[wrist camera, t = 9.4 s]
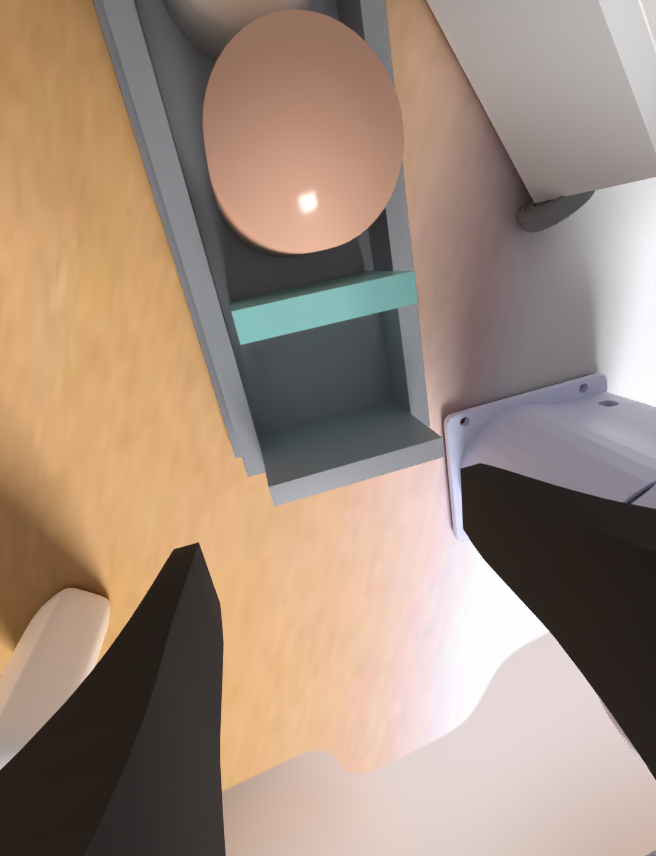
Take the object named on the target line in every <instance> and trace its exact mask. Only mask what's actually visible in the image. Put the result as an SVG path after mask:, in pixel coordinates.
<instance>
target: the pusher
mask: <svg viewBox="0 0 656 856" xmlns="http://www.w3.org/2000/svg"><path fill="white" fill-rule="evenodd" d="M417 303H418V301H417V291H416V282H415V272H414V271H365V272H361V273H356V274H352V275H347V276H343V277H338V278H333V279H329V280H324V281H320V282H315V283H311V284H306V285H302V286H297V287H292V288H288V289H283V290H279V291H274V292H270V293H265V294H261V295H256V296H251V297H247V298H242V299H238V300H233V301H230V307H231V312H232V316H233V320H234V323H235V327H236V331H237V334H238V338H239V341H240V345H242V344H247V343H251V342H255V341H259V340H264V339H268V338H272V337H276V336H281V335H285V334H289V333H293V332H298V331H302V330H306V329H310V328H315V327H319V326H323V325H327V324H332V323H336V322H340V321H345V320H349V319H353V318H357V317H362V316H366V315H370V314H374V313H379V312H383V311H387V310H391V309H396V308H400V307H404V306H408V305H413V304H417Z"/></svg>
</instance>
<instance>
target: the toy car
mask: <svg viewBox="0 0 656 856" xmlns="http://www.w3.org/2000/svg"><path fill="white" fill-rule="evenodd" d="M426 1H427V3H428V4H429V6H430V8H431V10H432V12H433V14H434V16H435V18H436V19H437V21H438V23H439V25H440V27H441V29H442V31H443V33H444V34H445V36H446V38H447V40H448V42H449V44H450V46H451V48H452V49H453V51H454V53H455V55H456V57H457V59H458V61H459V63H460V64H461V66H462V68H463V70H464V72H465V74H466V76H467V78H468V79H469V81H470V83H471V85H472V87H473V89H474V91H475V93H476V94H477V96H478V98H479V100H480V102H481V104H482V106H483V108H484V109H485V111H486V113H487V115H488V117H489V119H490V121H491V123H492V124H493V126H494V128H495V130H496V132H497V134H498V136H499V138H500V139H501V141H502V143H503V145H504V147H505V149H506V151H507V153H508V154H509V156H510V158H511V160H512V162H513V164H514V166H515V168H516V169H517V171H518V173H519V175H520V177H521V179H522V181H523V183H524V184H525V186H526V188H527V190H528V192H529V194H530V196H531V198H532V200H531V201H529V202H528V203H526V204H525V205H524V206H523V207H522V208H521V209H520V210H519V211H518V214H517V217H518V219H519V221H520V223H521V225H522V226H523V228H524V230H525V231H527V232H537V231H541V230H544V229H546V228H549V227H551V226H553V225H555V224H557V223H559V222H560V221H562V220H564V219H565V218H567V217H568V216H570V215H571V214H573V213H574V212H575V211H577V210H578V209H579V208H580V207H581V206H583V205H584V204H585V203H586V202H587V201H588V200H589V199H590V197H591V196H592V195H593V193H594V192H595V190H597V189H602V188H607V187H611V186H616V185H620V184H625V183H629V182H634V181H638V180H643V179H648V178H652V177H656V0H426Z"/></svg>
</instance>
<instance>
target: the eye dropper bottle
mask: <svg viewBox="0 0 656 856" xmlns="http://www.w3.org/2000/svg"><path fill="white" fill-rule="evenodd" d="M109 619H110V603H109V601H108V599H107V598H105V597H103V596H100V595H97V594H94V593H91V592H87V591H84V590H81V589H77V588H67V589H64V590H62V591H60V592H59V593H57V594H56V595H55V596H53V597H52V598H51V599H50V600H48V601H47V602H46V603H45V604H44V605H43V606H42V607H41V608H40V609H39V611H38V612H37V613H36V614H35V616H34V617H33V618H32V620H31V621H30V623H29V625H28V626H27V628H26V630H25V632H24V633H23V635H22V637H21V639H20V641H19V642H18V644H17V646H16V648H15V650H14V651H13V653H12V655H11V657H10V659H9V660H8V662H7V664H6V666H5V668H4V669H3V671H2V673H1V675H0V770H1V769H2V768H3V767H4V766H5V765H6V764H7V763H8V762H9V761H10V760H11V759H12V758H13V757H14V756H15V755H16V754H17V753H18V752H19V751H20V750H21V749H22V748H23V747H24V746H25V745H26V744H27V743H28V741H29V740H30V739H31V738H32V737H33V736H34V735H35V734H36V733H37V732H38V731H39V730H40V729H41V728H42V727H43V725H44V724H45V723H46V722H47V721H48V720H49V719H50V718H51V717H52V716H53V715H54V714H55V713H56V712H57V711H58V709H59V708H60V707H61V706H62V705H63V704H64V703H65V702H66V701H67V700H68V698H69V697H70V696H71V695H72V694H73V693H74V691H75V690H76V689H77V688H78V687H79V686H80V684H81V683H82V682H83V681H84V680H85V678H86V677H87V676H88V675H89V674H90V672H91V671H92V670H93V669H94V667H95V665H96V662H97V659H98V656H99V653H100V650H101V647H102V644H103V641H104V638H105V634H106V631H107V628H108V624H109Z"/></svg>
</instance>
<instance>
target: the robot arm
mask: <svg viewBox="0 0 656 856" xmlns="http://www.w3.org/2000/svg"><path fill="white" fill-rule="evenodd" d="M581 385H582V388H581V389H580V386H581ZM579 389H580V390H579ZM606 391H607V378H606V376H605V375H603V374H599V373H595V374H591V375H588V376H584V377H581V378H577V379H573V380H570V381H566V382H563V383H559V384H555V385H552V386H548V387H545V388H541V389H537V390H534V391H530V392H527V393H523V394H519V395H516V396H512V397H509V398H505V399H501V400H498V401H494V402H491V403H487V404H483V405H480V406H476V407H473V408H469V409H465V410H462V411H458V412H455V413H451V414H449V415H448V416H447V417H446V418H445V420H444V433H445V444H446V455H447V466H448V477H449V488H450V499H451V510H452V521H453V532H454V536H455V537H456V539H457V540H459V541H461V542H462V541H467V540H471V542H472V543H473V545H474V546H475V548H476V549H477V550H478V552H479V553H480V555H481V556H482V557H483V559H484V560H485V561H486V562H487V563H488V564H489V565H490V567H491V568H492V569H493V570H494V571H495V572H496V573H497V574H498V575H499V576H500V578H501V579H502V580H503V581H504V582H505V583H506V584H507V585H508V586H509V587H510V588H511V590H512V591H513V592H514V593H515V594H516V595H517V596H518V597H519V598H520V599H521V600H522V601H523V602H524V604H525V605H526V606H527V607H528V608H529V609H530V610H531V611H532V612H533V613H534V614H535V615H536V617H537V618H538V619H539V620H540V621H541V622H542V623H543V624H544V625H545V627H546V628H547V629H548V630H549V631H550V632H551V634H552V635H553V636H554V637H555V638H556V640H557V641H558V642H559V644H560V645H561V646H562V648H563V649H564V650H565V652H566V653H567V654H568V655H569V657H570V658H571V659H572V661H573V662H574V663H575V665H576V666H577V667H578V669H579V670H580V671H581V673H583V675H584V677H585V678H586V679H587V681H588V682H589V684H590V685H591V686H592V687H593V689H594V690H595V692H596V693H597V695H598V696H599V699H600V701H601V703H602V705H603V707H604V709H605V711H606V713H607V714H608V716H609V718H610V719H611V721H612V722H613V724H614V725H615V727H616V729H617V730H618V732H619V733H620V735H621V736H622V738H623V739H624V741H625V742H626V743H627V745H628V746H629V747H630V749H631V750H632V751H633V752H634V753H635V755H636V756H637V757H638V758H639V759H640V760H641V761H642V763H643V764H644V765H645V766H646V767H647V768H648V769H649V770H650V772H651V773H652V775H653V776H654V778H655V779H656V407H653V406H650V405H647V404H644V403H640V402H637V401H634V400H631V399H628V398H625V397H621V396H618V395H615V394H612V393H609V392H606ZM464 417H465V418H466V419H465V421H464V423H462V424H460V421H461V419H462V418H464ZM222 674H223V630H222V619H221V608H220V602H219V599H218V596H217V594H216V591H215V588H214V585H213V582H212V579H211V576H210V573H209V571H208V568H207V565H206V562H205V559H204V556H203V553H202V551H201V548H200V545H199V542H198V543H195V544H191V545H188V546H184V547H181V548H177V549H174V550H173V552H172V553H171V555H170V556H169V558H168V559H167V561H166V563H165V564H164V566H163V568H162V569H161V571H160V573H159V574H158V576H157V577H156V579H155V581H154V582H153V584H152V586H151V587H150V589H149V591H148V592H147V594H146V595H145V597H144V598H143V600H142V601H141V603H140V605H139V606H138V608H137V609H136V611H135V612H134V614H133V615H132V617H131V618H130V620H129V621H128V623H127V624H126V626H125V627H124V628H123V630H122V631H121V633H120V634H119V635H118V637H117V638H116V640H115V641H114V642H113V644H112V645H111V647H110V648H109V649H108V651H107V652H106V653H105V655H104V656H103V657H102V659H101V660H100V661H99V662H98V664H97V665H96V666H95V667H94V669H93V670H92V671H91V672H90V674H89V675H88V676H87V677H86V678H85V680H84V681H83V682H82V683H81V684H80V686H79V687H78V688H77V689H76V690H75V691H74V693H73V694H72V695H71V696H70V697H69V698H68V700H67V701H66V702H65V703H64V704H63V705H62V706H61V707H60V708H59V709H58V711H57V712H56V713H55V714H54V715H53V716H52V717H51V718H50V719H49V720H48V721H47V722H46V723H45V724H44V725H43V727H42V728H41V729H40V730H39V731H38V732H37V733H36V734H35V735H34V736H33V737H32V738H31V739H30V740H29V741H28V743H27V744H26V745H25V746H24V747H23V748H22V749H21V750H20V751H19V752H18V753H17V754H16V755H15V756H14V757H13V758H12V759H11V760H10V761H9V762H8V763H7V764H6V765H5V766H4V767H3V768H2V769H1V770H0V856H225V855H226V854H225V840H224V824H223V810H222V809H223V807H222V788H221V770H220V727H221V700H222ZM646 856H656V851H654V852H652V853H650V854H648V855H646Z"/></svg>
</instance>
